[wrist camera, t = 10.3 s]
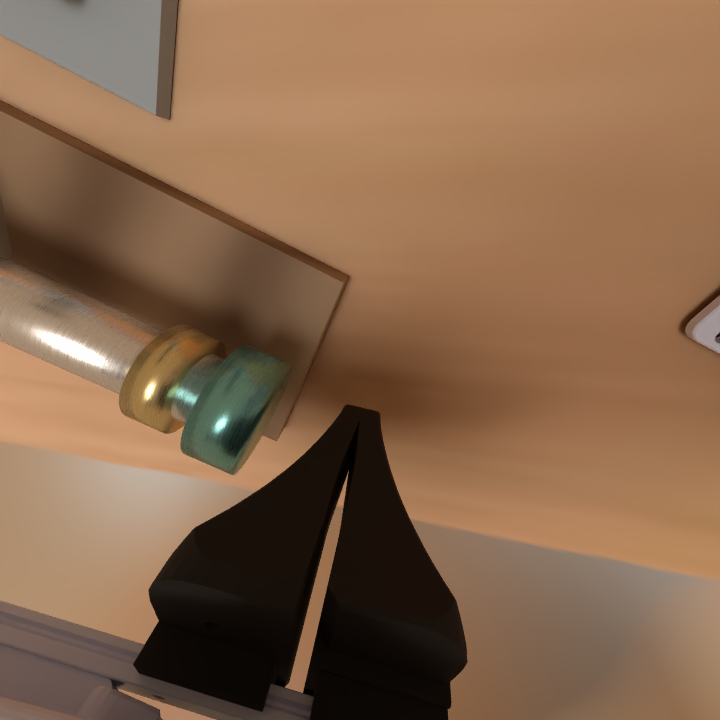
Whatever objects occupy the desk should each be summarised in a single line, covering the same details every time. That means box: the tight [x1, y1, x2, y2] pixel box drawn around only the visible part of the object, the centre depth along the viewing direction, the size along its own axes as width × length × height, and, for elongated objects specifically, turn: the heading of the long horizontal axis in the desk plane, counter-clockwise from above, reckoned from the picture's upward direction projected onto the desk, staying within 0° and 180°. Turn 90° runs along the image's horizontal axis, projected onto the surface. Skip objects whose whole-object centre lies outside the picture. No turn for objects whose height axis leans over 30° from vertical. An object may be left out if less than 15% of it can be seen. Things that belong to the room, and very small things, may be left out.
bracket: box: [0, 101, 349, 441], centre depth 10 cm, size 19×9×6 cm, turn 66°
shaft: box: [0, 255, 292, 475], centre depth 10 cm, size 15×4×4 cm, turn 66°
